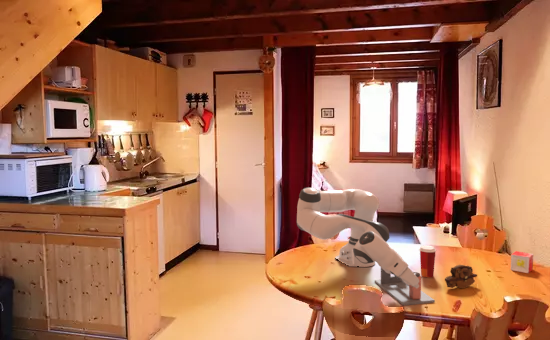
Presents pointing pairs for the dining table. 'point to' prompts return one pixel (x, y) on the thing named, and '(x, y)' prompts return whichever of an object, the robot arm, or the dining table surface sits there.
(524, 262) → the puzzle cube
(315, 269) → the dining table surface
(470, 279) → the wooden carving
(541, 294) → the dining table surface
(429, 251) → the paper cup
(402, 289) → the gray stand
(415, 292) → the pink l-shaped bar
